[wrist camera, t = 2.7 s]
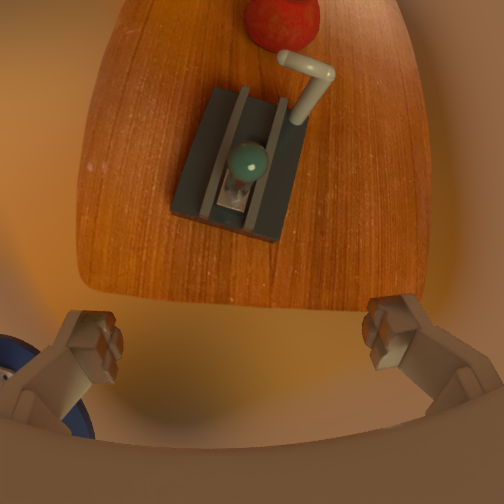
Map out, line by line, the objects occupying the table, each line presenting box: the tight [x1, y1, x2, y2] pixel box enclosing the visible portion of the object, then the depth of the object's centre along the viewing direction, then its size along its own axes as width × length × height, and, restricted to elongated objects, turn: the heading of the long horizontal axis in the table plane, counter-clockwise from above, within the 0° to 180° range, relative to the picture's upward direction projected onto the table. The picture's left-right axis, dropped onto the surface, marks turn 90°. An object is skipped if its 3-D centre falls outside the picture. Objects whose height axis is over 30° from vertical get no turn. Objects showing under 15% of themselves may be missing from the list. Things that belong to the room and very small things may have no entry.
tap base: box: [170, 49, 336, 243], centre depth 30 cm, size 12×16×14 cm
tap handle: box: [216, 141, 269, 215], centre depth 28 cm, size 3×4×12 cm
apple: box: [244, 0, 320, 53], centre depth 34 cm, size 11×11×11 cm
